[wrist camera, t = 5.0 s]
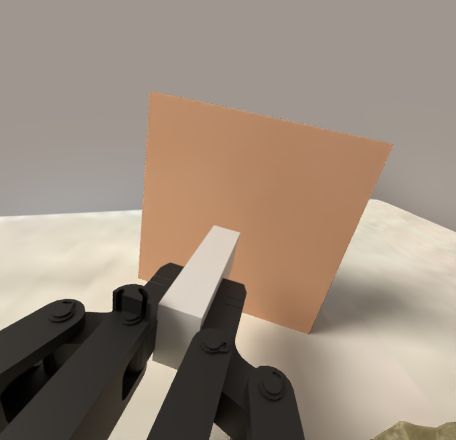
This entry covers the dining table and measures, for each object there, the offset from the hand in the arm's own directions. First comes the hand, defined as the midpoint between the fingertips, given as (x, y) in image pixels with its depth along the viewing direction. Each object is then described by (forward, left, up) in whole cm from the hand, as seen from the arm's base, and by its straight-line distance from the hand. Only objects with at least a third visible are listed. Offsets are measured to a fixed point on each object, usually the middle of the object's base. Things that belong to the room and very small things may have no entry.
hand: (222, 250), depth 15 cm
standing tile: (0, -5, -7) cm, 8 cm away
